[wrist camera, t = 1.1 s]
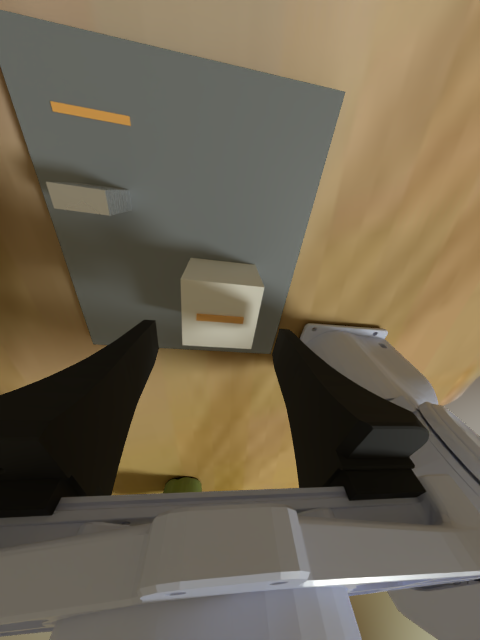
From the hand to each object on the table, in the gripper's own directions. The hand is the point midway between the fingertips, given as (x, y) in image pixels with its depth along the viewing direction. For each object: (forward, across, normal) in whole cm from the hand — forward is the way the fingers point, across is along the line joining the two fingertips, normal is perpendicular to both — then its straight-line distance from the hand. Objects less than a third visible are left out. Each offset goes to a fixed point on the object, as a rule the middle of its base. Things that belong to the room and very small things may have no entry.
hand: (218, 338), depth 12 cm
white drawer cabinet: (+7, 0, 0) cm, 7 cm away
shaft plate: (+8, +3, -3) cm, 9 cm away
